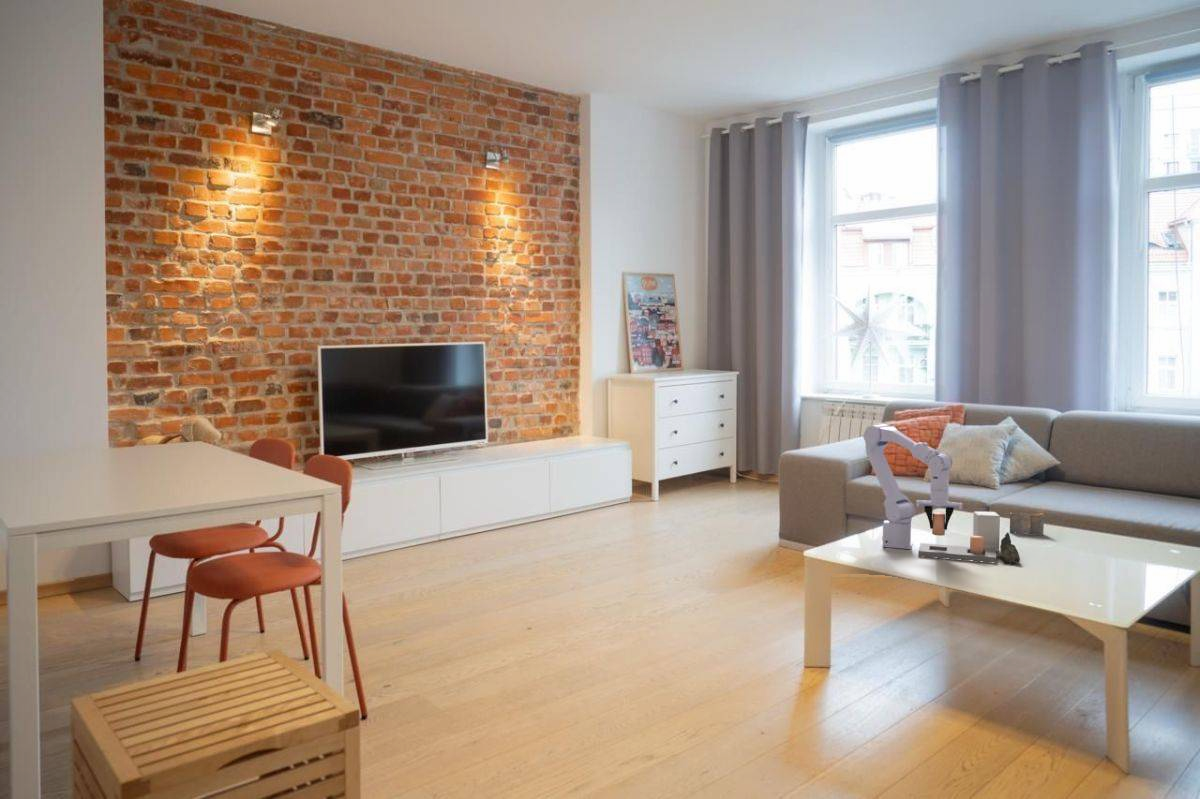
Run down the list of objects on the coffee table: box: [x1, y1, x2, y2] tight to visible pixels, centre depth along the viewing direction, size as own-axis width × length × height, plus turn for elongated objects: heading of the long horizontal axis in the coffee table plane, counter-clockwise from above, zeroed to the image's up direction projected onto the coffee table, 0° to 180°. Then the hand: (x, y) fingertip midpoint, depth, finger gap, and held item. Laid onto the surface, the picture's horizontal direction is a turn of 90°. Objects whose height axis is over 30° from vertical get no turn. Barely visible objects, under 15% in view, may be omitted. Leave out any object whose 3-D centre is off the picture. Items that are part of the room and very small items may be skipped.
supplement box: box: [972, 511, 1001, 552], centre depth 309 cm, size 7×7×13 cm
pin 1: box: [931, 512, 946, 537], centre depth 302 cm, size 4×4×7 cm
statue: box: [999, 532, 1021, 565], centre depth 297 cm, size 6×6×20 cm
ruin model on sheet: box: [1009, 508, 1045, 536], centre depth 332 cm, size 11×3×10 cm, turn 63°
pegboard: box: [917, 542, 997, 564], centre depth 300 cm, size 24×12×2 cm, turn 67°
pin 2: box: [969, 535, 983, 554], centre depth 297 cm, size 4×4×7 cm
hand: (938, 528), depth 302 cm, fingers closed on pin 1, 4 cm apart
